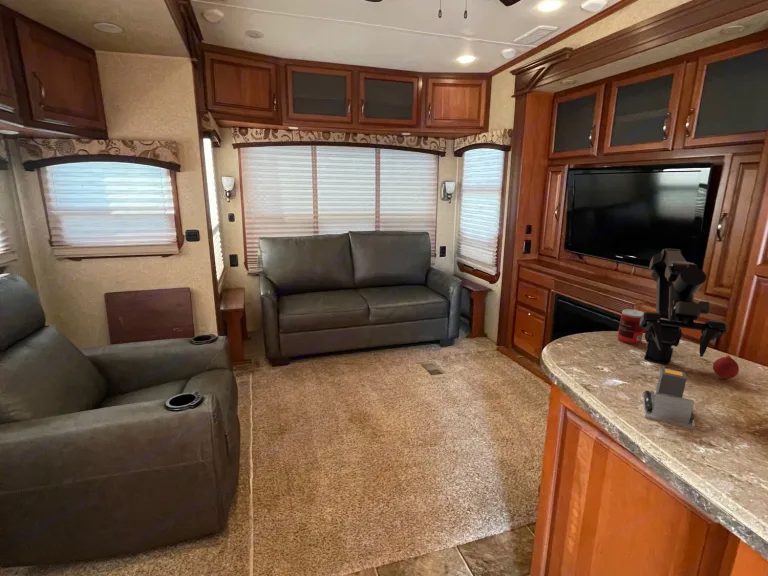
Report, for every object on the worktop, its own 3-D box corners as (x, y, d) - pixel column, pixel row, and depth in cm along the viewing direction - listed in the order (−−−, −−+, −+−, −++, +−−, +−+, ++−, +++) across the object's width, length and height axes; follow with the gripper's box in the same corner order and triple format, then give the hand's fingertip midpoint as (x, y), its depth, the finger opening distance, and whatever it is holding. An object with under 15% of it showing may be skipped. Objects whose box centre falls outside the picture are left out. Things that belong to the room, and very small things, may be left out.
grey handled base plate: (642, 395, 109) (647, 372, 107) (687, 405, 104) (693, 382, 102) (644, 417, 99) (650, 392, 97) (694, 429, 94) (701, 404, 92)
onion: (735, 379, 118) (742, 354, 116) (734, 386, 114) (742, 361, 112) (711, 372, 122) (717, 349, 120) (709, 379, 118) (715, 354, 116)
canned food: (639, 338, 148) (644, 310, 145) (642, 346, 141) (648, 317, 138) (616, 335, 151) (621, 307, 148) (618, 342, 144) (623, 314, 141)
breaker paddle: (654, 396, 106) (661, 366, 104) (677, 401, 104) (684, 371, 101) (655, 403, 103) (662, 373, 100) (679, 408, 100) (686, 378, 98)
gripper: (649, 284, 110) (646, 336, 104) (734, 293, 102) (737, 349, 96) (640, 302, 119) (637, 350, 113) (718, 311, 111) (719, 363, 105)
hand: (680, 353), depth 106 cm, fingers open, 9 cm apart
